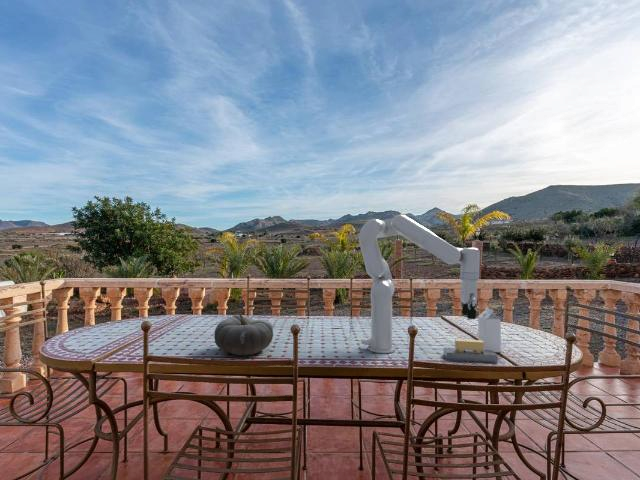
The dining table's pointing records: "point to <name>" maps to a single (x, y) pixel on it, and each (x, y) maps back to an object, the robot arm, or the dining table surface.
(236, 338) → the gourd
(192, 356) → the dining table surface
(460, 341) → the clip
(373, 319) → the robot arm
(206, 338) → the dining table surface
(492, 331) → the milk carton
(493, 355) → the grey block with holes
